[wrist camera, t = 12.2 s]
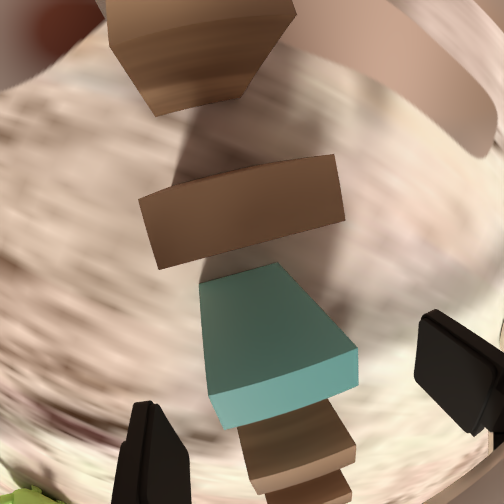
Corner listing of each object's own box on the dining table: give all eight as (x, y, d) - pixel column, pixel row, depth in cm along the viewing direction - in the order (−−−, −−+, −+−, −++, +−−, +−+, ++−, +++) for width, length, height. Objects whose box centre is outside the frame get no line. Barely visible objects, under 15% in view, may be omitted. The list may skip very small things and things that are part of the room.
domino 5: (243, 415, 21) (272, 518, 12) (302, 397, 22) (352, 491, 12) (248, 428, 22) (276, 526, 12) (304, 410, 22) (351, 501, 13)
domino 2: (171, 186, 16) (138, 199, 7) (256, 165, 17) (334, 154, 7) (179, 216, 17) (158, 270, 7) (262, 195, 17) (345, 220, 8)
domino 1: (150, 89, 14) (105, -1, 5) (234, 70, 15) (280, -29, 5) (155, 116, 15) (109, 46, 5) (240, 97, 15) (296, 14, 6)
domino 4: (223, 360, 19) (249, 480, 10) (292, 340, 20) (356, 444, 11) (229, 379, 20) (257, 495, 10) (295, 359, 21) (354, 462, 11)
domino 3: (198, 283, 18) (208, 395, 8) (277, 262, 18) (357, 348, 9) (206, 309, 18) (224, 429, 9) (282, 288, 19) (358, 385, 9)
